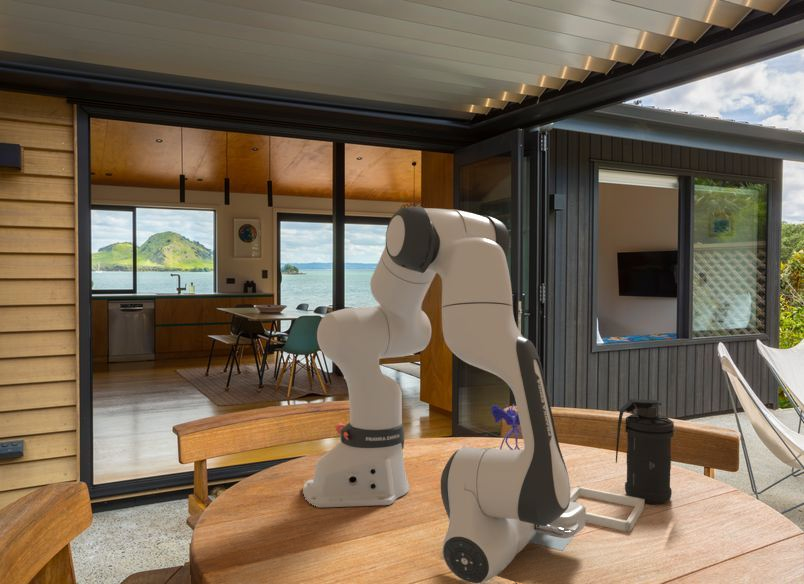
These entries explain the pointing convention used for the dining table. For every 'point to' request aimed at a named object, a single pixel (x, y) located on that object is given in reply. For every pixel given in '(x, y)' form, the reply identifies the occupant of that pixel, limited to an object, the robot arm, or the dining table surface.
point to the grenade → (647, 451)
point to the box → (610, 497)
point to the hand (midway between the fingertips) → (537, 493)
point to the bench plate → (550, 541)
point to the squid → (507, 421)
